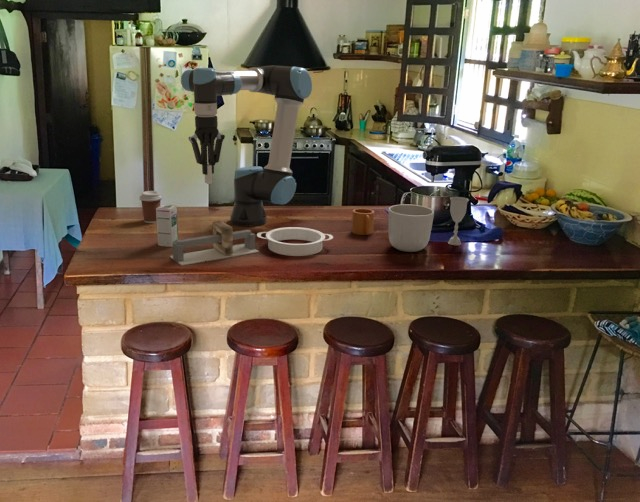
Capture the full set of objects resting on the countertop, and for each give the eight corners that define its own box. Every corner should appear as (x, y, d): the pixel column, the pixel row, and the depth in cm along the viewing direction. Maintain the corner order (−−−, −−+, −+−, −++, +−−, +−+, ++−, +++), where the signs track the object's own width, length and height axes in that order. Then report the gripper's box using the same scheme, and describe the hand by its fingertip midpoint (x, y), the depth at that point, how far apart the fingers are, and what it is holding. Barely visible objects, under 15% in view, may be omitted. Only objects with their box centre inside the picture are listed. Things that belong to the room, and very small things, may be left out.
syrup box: (172, 247, 236) (170, 209, 231) (157, 245, 237) (155, 207, 233) (178, 242, 241) (177, 205, 237) (163, 241, 242) (162, 203, 238)
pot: (254, 256, 231) (254, 243, 230) (258, 237, 252) (258, 226, 251) (333, 258, 232) (334, 246, 230) (331, 240, 253) (332, 228, 251)
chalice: (465, 242, 255) (470, 198, 250) (461, 247, 249) (466, 202, 244) (447, 239, 258) (452, 195, 252) (443, 244, 252) (447, 199, 247)
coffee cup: (161, 217, 273) (159, 189, 269) (165, 223, 265) (164, 194, 261) (138, 218, 269) (137, 190, 266) (142, 224, 262) (141, 196, 258)
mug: (353, 237, 256) (354, 215, 254) (350, 229, 268) (351, 208, 265) (375, 237, 257) (376, 215, 254) (372, 229, 268) (373, 208, 265)
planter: (439, 250, 245) (443, 211, 240) (409, 258, 234) (413, 218, 229) (406, 239, 257) (409, 202, 252) (376, 246, 246) (379, 208, 241)
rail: (245, 244, 242) (245, 226, 240) (258, 252, 234) (259, 233, 232) (170, 257, 226) (169, 237, 223) (181, 265, 218) (180, 245, 216)
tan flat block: (220, 245, 236) (220, 220, 233) (232, 253, 228) (232, 227, 225) (213, 247, 234) (212, 221, 231) (225, 254, 227) (224, 228, 224)
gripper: (193, 118, 212) (196, 187, 220) (228, 115, 219) (230, 183, 227) (183, 115, 218) (186, 183, 226) (218, 112, 225) (220, 178, 233)
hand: (208, 183), depth 226 cm, fingers closed
